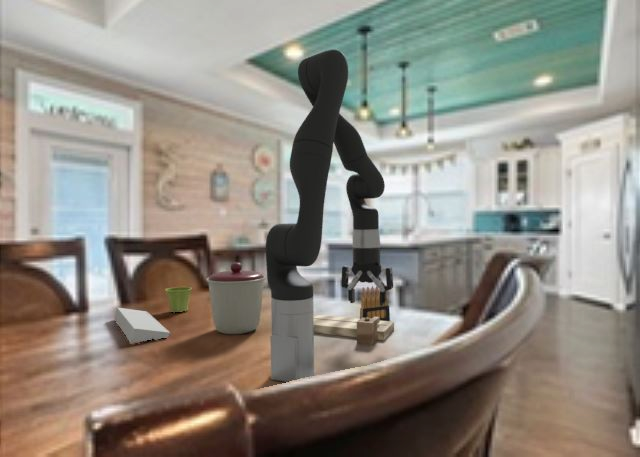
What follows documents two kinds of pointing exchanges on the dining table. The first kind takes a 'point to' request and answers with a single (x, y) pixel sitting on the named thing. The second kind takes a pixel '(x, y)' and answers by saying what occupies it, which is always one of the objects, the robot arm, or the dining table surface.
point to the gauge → (367, 330)
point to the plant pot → (178, 298)
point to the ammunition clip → (374, 305)
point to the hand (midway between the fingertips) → (367, 303)
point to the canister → (236, 299)
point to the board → (347, 326)
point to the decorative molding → (139, 325)
